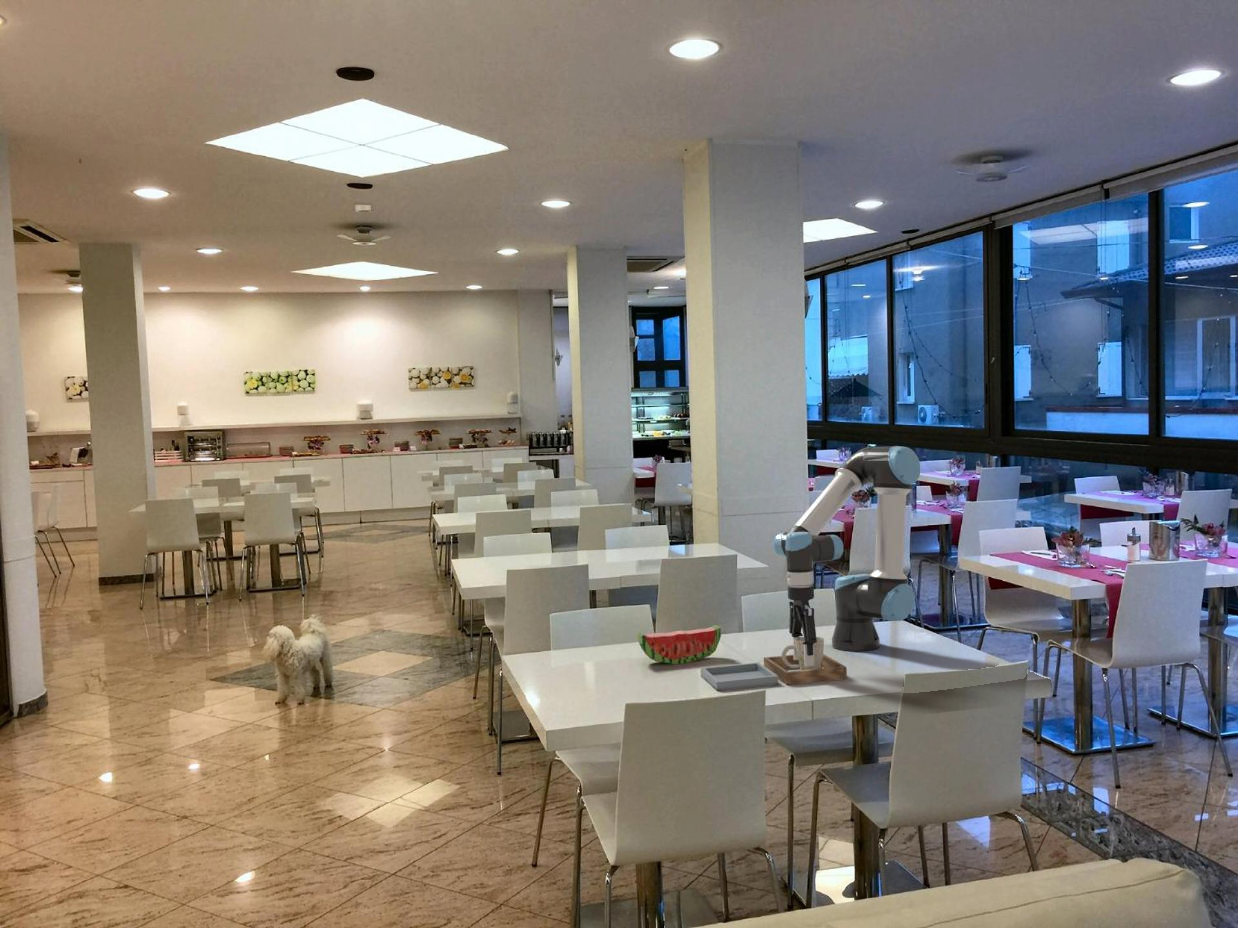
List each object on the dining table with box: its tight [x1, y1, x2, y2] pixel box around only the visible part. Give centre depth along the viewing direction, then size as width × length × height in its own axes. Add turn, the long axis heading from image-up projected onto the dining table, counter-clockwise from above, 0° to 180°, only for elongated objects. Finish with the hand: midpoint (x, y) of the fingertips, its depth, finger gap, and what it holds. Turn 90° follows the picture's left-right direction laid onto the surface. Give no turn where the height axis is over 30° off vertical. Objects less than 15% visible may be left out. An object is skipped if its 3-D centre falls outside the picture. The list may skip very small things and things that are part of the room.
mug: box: [781, 636, 825, 670], centre depth 290 cm, size 8×13×10 cm, turn 78°
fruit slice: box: [637, 624, 722, 665], centre depth 313 cm, size 26×6×10 cm, turn 103°
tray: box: [700, 662, 779, 692], centre depth 286 cm, size 18×17×2 cm
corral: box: [763, 653, 848, 686], centre depth 290 cm, size 18×20×4 cm
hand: (803, 662), depth 289 cm, fingers closed on mug, 8 cm apart
